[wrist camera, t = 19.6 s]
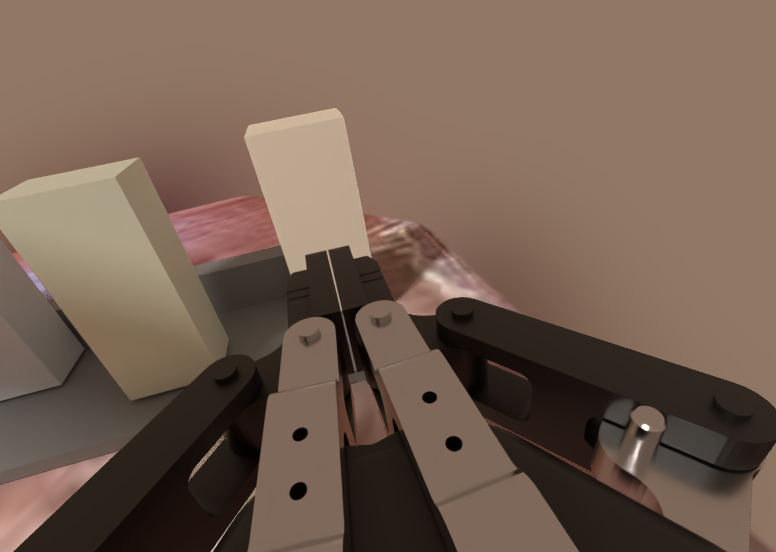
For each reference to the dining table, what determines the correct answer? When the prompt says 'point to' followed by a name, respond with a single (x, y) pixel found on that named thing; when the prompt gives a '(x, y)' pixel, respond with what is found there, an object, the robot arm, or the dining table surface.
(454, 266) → the dining table surface
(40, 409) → the tile stand
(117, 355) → the tile two
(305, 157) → the tile one
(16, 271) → the tile three
